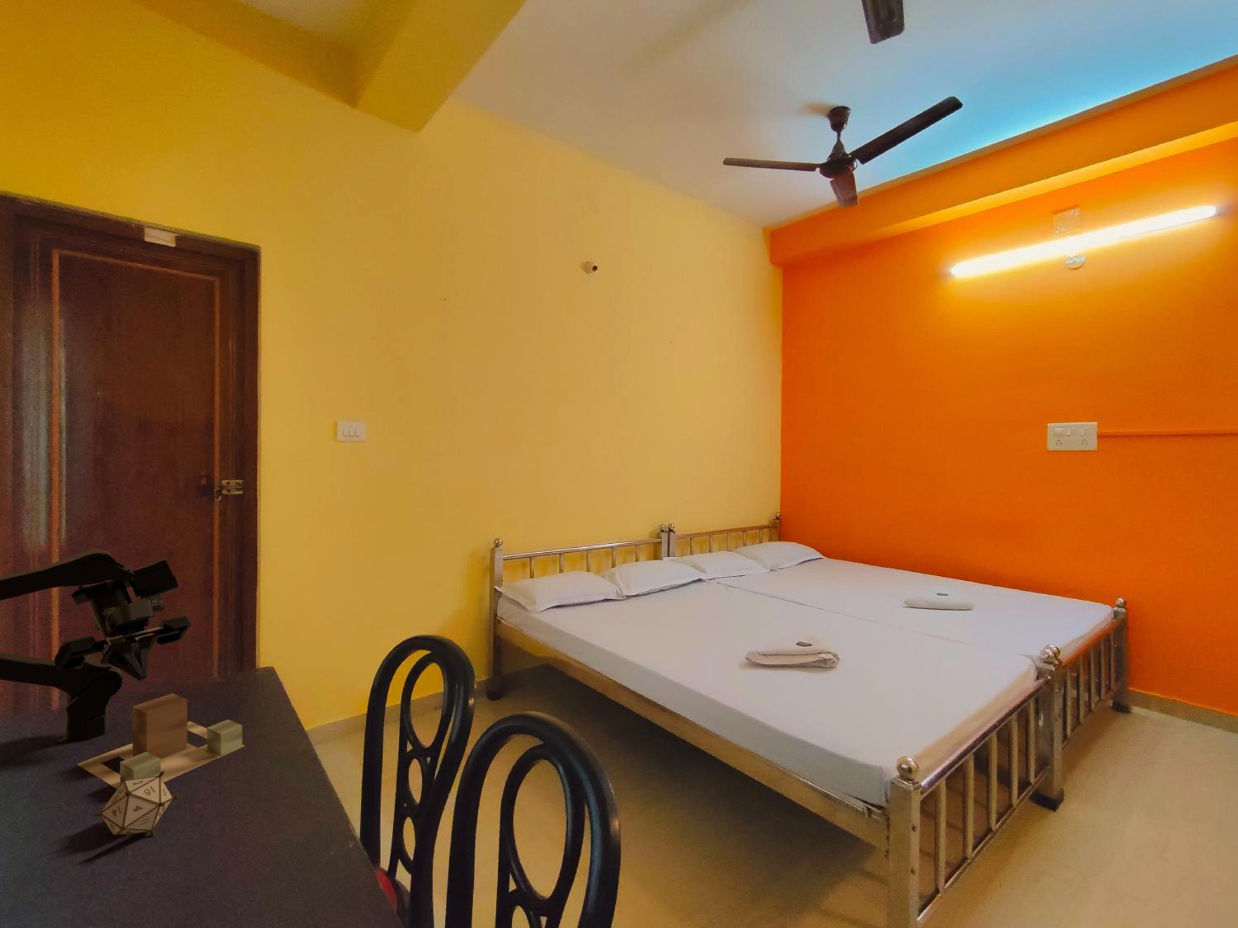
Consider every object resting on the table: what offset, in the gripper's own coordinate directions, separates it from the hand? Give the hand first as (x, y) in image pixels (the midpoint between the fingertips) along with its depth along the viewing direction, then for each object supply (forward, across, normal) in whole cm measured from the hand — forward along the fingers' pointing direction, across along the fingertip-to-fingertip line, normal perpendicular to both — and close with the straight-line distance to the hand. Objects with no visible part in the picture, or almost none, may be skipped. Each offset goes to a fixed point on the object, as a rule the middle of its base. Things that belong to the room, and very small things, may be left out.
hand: (143, 678), depth 101 cm
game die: (+27, -11, -8) cm, 30 cm away
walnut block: (+13, 0, +4) cm, 14 cm away
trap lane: (+14, 0, +4) cm, 15 cm away
